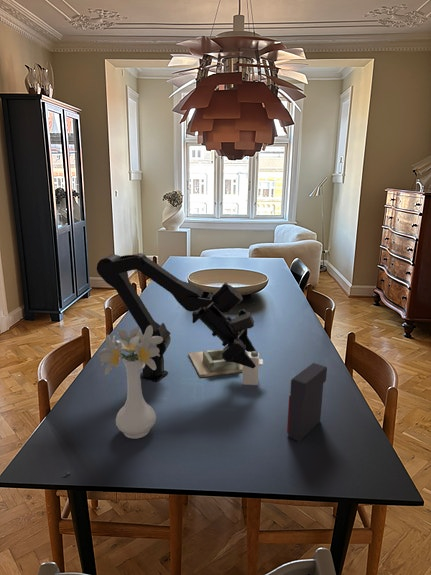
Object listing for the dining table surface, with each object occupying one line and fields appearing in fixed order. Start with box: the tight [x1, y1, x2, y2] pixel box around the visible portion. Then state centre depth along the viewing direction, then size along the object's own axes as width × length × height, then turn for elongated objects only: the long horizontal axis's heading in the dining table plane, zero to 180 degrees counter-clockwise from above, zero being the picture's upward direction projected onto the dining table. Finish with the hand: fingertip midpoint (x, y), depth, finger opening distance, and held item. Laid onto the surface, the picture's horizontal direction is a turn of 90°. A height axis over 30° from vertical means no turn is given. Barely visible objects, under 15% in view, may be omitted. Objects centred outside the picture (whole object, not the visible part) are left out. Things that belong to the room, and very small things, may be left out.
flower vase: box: [97, 325, 163, 440], centre depth 95 cm, size 13×18×25 cm
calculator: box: [286, 362, 328, 442], centre depth 97 cm, size 11×4×15 cm, turn 141°
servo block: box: [241, 350, 264, 386], centre depth 121 cm, size 7×4×9 cm, turn 83°
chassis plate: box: [188, 348, 243, 378], centre depth 133 cm, size 16×16×4 cm
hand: (255, 360), depth 120 cm, fingers open, 9 cm apart
